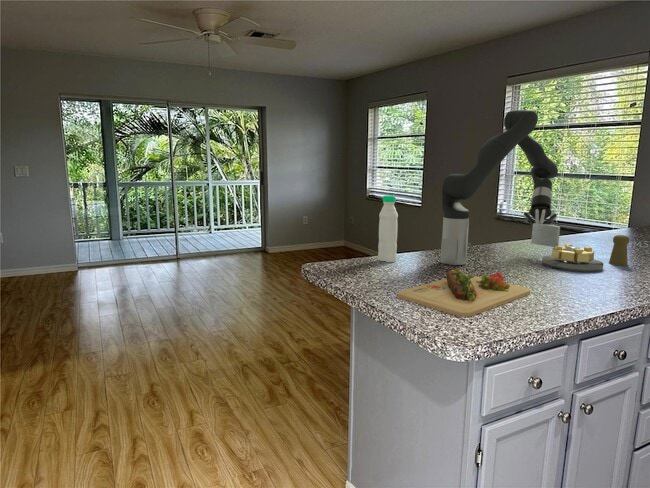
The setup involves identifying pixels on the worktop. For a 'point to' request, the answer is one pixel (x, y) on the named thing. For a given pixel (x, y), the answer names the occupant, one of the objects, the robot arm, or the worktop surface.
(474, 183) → the robot arm
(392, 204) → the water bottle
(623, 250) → the cork
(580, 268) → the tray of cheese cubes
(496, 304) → the cutting board
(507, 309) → the worktop surface
